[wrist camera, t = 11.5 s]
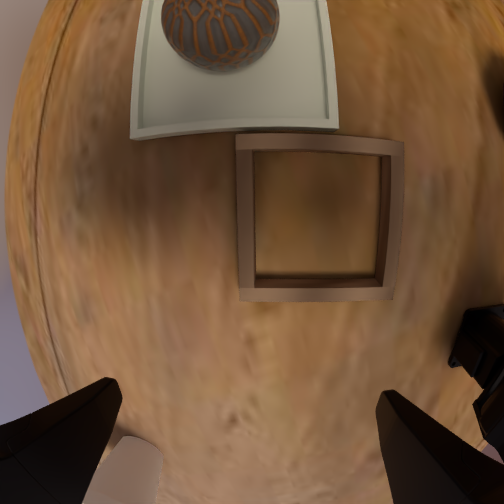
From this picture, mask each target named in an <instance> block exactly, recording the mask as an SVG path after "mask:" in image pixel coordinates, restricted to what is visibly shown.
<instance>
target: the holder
mask: <svg viewBox="0 0 504 504" xmlns="http://www.w3.org/2000/svg"><path fill="white" fill-rule="evenodd" d="M254 152H322V153H341V154H356V155H369V156H379V157H382V182H381V212H380V229H379V242H378V253H377V263H376V272H375V278H365V279H256V244H255V174H254ZM236 186H237V228H238V263H239V294H240V301H250V302H337V301H371V300H393V295H394V289H395V283H396V276H397V269H398V261H399V253H400V243H401V233H402V220H403V202H404V142H399V141H392V140H384V139H375V138H365V137H354V136H341V135H324V134H296V133H259V134H236Z"/></svg>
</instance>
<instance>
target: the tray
mask: <svg viewBox="0 0 504 504" xmlns="http://www.w3.org/2000/svg"><path fill="white" fill-rule="evenodd" d="M163 2H164V0H143V3H142V8H141V14H140V20H139V26H138V33H137V40H136V48H135V56H134V66H133V78H132V92H131V112H130V139H134V140H138V141H141V140H147V139H155V138H162V137H170V136H179V135H189V134H200V133H213V132H230V131H257V130H297V131H324V132H335V131H336V130H338V129H339V118H338V100H337V86H336V73H335V63H334V53H333V44H332V36H331V29H330V22H329V15H328V8H327V2H326V0H277V3H278V6H279V13H280V22H279V29H278V33H277V36H276V38H275V40H274V42H273V44H272V46H271V47H270V48H269V50H268V51H267V52H266V53H265V54H264V55H263V56H262V57H261V58H259V59H258V60H257V61H255V62H253V63H252V64H250V65H248V66H245V67H243V68H239V69H236V70H230V71H212V70H207V69H203V68H199V67H197V66H195V65H192V64H190V63H189V62H187V61H185V60H184V59H183V58H182V57H180V56H179V55H178V54H177V53H176V52H175V51H174V50H173V49H172V47H171V46H170V45H169V43H168V42H167V40H166V38H165V35H164V33H163V29H162V24H161V10H162V5H163Z"/></svg>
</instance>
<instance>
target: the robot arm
mask: <svg viewBox="0 0 504 504" xmlns="http://www.w3.org/2000/svg"><path fill="white" fill-rule="evenodd" d="M468 315H469V316H468ZM448 365H449V366H450V367H451V368H454V367H458V366H463V368H464V369H465V370H466V371H467V373H468V374H469V375H470V377H473V378H474V379H475V380H476V381H477V383H478V384H479V385H480V387H481V388H482V389H484V390H483V392H482V393H481V394H480V396H479V397H478V399H476V400H475V401H474V403H473V404H472V405H473V408H474V411H475V414H476V417H477V420H478V423H479V426H480V430H481V433H482V436H483V438H484V439H485V440H486V441H487V442H488V443H489V444H490V445H492V446H493V447H494V448H495V449H496V450H497V451H498V453H499V455H500V457H501V459H502V460H503V462H504V304H500V305H493V306H487V307H480V308H472V309H468V310H467V311H466V312H465V314H464V318H463V321H462V325H461V328H460V331H459V334H458V337H457V340H456V343H455V346H454V349H453V352H452V355H451V357H450V360H449V363H448ZM121 403H122V393H121V391H120V388H119V385H118V383H117V381H116V380H115V379H113V378H109V377H104V378H102V379H100V380H98V381H96V382H94V383H92V384H90V385H88V386H86V387H84V388H82V389H80V390H78V391H76V392H74V393H72V394H70V395H68V396H66V397H64V398H62V399H60V400H58V401H56V402H54V403H52V404H49V405H47V406H45V407H43V408H41V409H39V410H37V411H35V412H33V413H32V414H31V413H30V414H28V415H26V416H24V417H21V418H19V419H16V420H14V421H11V422H8V423H6V424H3V425H0V504H82V502H83V500H84V497H85V495H86V492H87V490H88V487H89V485H90V483H91V480H92V478H93V475H94V473H95V471H96V468H97V466H98V464H99V461H100V459H101V457H102V454H103V452H104V450H105V447H106V445H107V443H108V441H109V438H110V436H111V434H112V431H113V428H114V425H115V422H116V418H117V415H118V412H119V409H120V406H121ZM376 419H377V426H378V433H379V440H380V447H381V452H382V457H383V461H384V464H385V468H386V473H387V477H388V481H389V485H390V490H391V494H392V498H393V503H394V504H504V465H503V464H501V463H499V462H498V461H496V460H494V459H492V458H490V457H488V456H486V455H484V454H483V453H481V452H480V451H478V450H477V449H475V448H474V447H472V446H471V445H469V444H468V443H466V442H465V441H462V439H461V438H459V437H458V436H456V435H455V434H454V433H452V432H451V431H450V430H448V429H447V428H445V427H444V426H443V425H441V424H440V423H439V422H437V421H436V420H434V419H433V418H432V417H430V416H429V415H428V414H426V413H425V412H424V411H422V410H421V409H420V408H418V407H417V406H415V405H414V404H413V403H411V402H410V401H409V400H407V399H406V398H405V397H403V396H402V395H401V394H399V393H398V392H397V391H395V390H385V391H383V392H382V393H381V395H380V398H379V401H378V403H377V406H376Z"/></svg>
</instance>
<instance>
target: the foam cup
mask: <svg viewBox="0 0 504 504" xmlns="http://www.w3.org/2000/svg"><path fill="white" fill-rule="evenodd" d="M162 465H163V454H162V453H161V452H160V450H159V449H158V448H156V447H155V446H153V445H152V444H151V443H149V442H147V441H145V440H142V439H140V438H137V437H133V436H123V437H122V439H121V440H120V441H119V442H118V443H117V445H116V446H115V447H114V448H113V450H112V451H111V452H110V454H109V455H108V456H107V457H106V459H105V460H104V461H103V462H102V464H101V465H100V466H99V468H98V469H97V470H96V471H95V473H94V475H93V478H92V480H91V483H90V485H89V487H88V490H87V492H86V495H85V497H84V500H83V502H82V504H155V503H156V497H157V492H158V486H159V481H160V475H161V470H162Z"/></svg>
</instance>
